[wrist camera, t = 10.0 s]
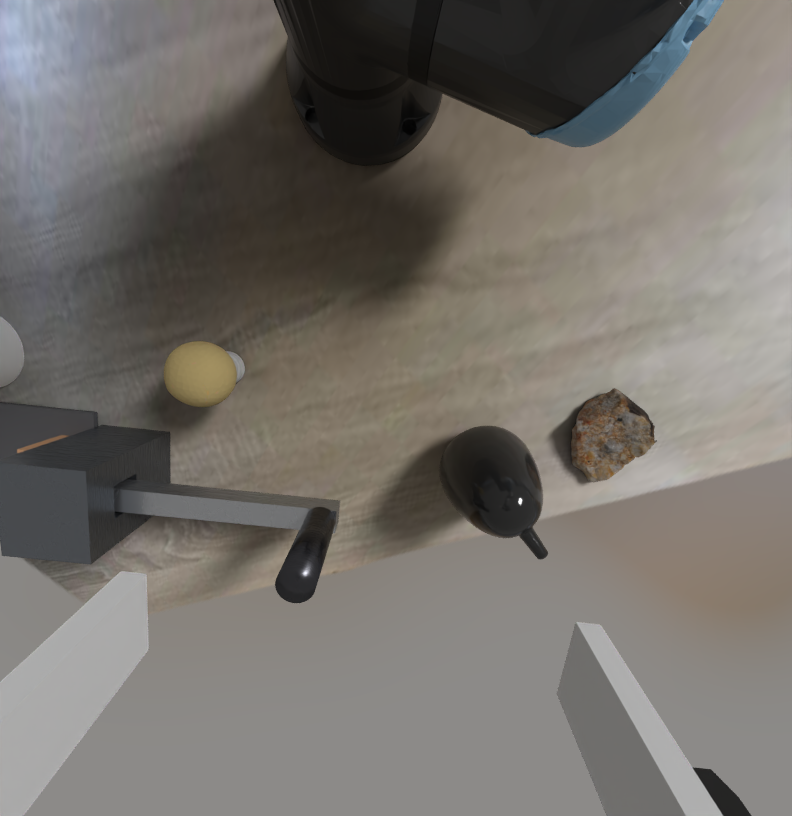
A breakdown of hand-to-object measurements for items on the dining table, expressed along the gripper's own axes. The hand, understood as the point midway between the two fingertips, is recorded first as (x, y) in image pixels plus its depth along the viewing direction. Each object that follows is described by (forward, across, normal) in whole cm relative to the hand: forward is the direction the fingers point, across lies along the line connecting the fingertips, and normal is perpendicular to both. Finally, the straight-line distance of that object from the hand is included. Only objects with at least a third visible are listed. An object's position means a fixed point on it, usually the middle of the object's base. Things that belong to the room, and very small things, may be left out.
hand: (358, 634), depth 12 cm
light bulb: (+35, -19, +1) cm, 40 cm away
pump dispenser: (+35, +12, -6) cm, 37 cm away
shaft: (+28, -18, -11) cm, 35 cm away
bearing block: (+34, -29, -12) cm, 47 cm away
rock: (+36, +26, -1) cm, 44 cm away
